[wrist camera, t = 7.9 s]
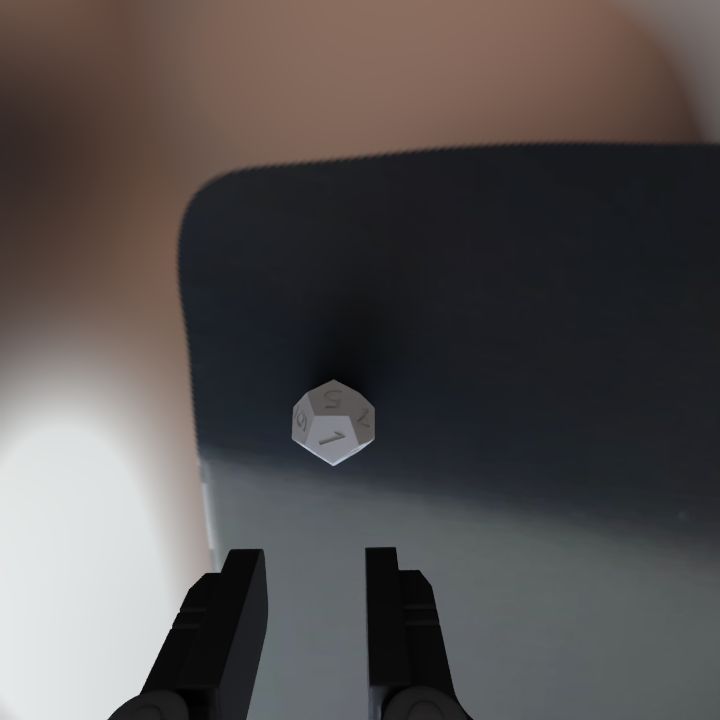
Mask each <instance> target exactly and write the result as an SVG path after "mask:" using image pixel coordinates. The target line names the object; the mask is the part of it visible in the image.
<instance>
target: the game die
mask: <svg viewBox="0 0 720 720" xmlns="http://www.w3.org/2000/svg"><path fill="white" fill-rule="evenodd" d="M292 439H293V440H295V441H296V442H297V443H299V444H300V445H302V446H303V447H304V448H306V449H307V450H309V451H310V452H312V453H313V454H315V455H317V456H318V457H320V458H321V459H323V460H325V461H326V462H328V463H329V464H331V465H333V466H334V465H336V464H338V463H340V462H341V461H343V460H345V459H347V458H348V457H350V456H352V455H353V454H355V453H357V452H359V451H360V450H361V449H362V448H364V447H365V446H366V445H368V444H369V443H370V442H371V441H373V440H374V439H375V408H374V407H373V406H372V405H371V404H370V403H369V402H368V401H367V400H366V399H365V398H364V397H363V396H362V395H361V394H360V393H359V392H357V391H355V390H353V389H351V388H349V387H347V386H345V385H343V384H342V383H340V382H338V381H336V380H332V381H330V382H327V383H325V384H323V385H321V386H319V387H317V388H315V389H313V390H311V391H309V392H307V393H306V394H305V395H304V396H303V397H302V398H301V399H300V401H299V402H298V403H297V404H296V405H295V406H294V407H293V425H292Z"/></svg>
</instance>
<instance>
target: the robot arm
mask: <svg viewBox="0 0 720 720" xmlns="http://www.w3.org/2000/svg"><path fill="white" fill-rule="evenodd" d="M365 569H366V638H367V679H368V719H369V720H473V719H472V718H471V717H470V716H469V715H468V714H467V713H466V712H465V710H464V709H463V708H462V706H461V705H460V703H459V701H458V699H457V697H456V695H455V692H454V688H453V684H452V679H451V674H450V669H449V665H448V660H447V655H446V651H445V646H444V641H443V637H442V632H441V627H440V625H439V618H438V613H437V609H436V604H435V599H434V594H433V590H432V586H431V585H430V583H429V582H428V581H427V579H426V578H425V577H424V576H423V574H422V573H421V572H420V570H399V569H398V561H397V553H396V547H374V548H365ZM267 620H268V596H267V582H266V569H265V556H264V551H263V549H231V550H230V551H229V553H228V556H227V558H226V561H225V563H224V566H223V568H222V571H221V573H205V574H204V575H203V576H202V578H200V579H199V580H198V581H197V582H196V583H195V584H194V585H193V586H192V587H191V588H190V589H189V591H188V593H187V595H186V597H185V599H184V601H183V603H182V606H181V608H180V613H178V614H177V617H176V619H175V621H174V623H173V625H172V629H170V631H169V633H168V635H167V637H166V640H165V642H164V644H163V646H162V648H161V650H160V652H159V654H158V657H157V659H156V661H155V663H154V665H153V667H152V669H151V671H150V674H149V676H148V678H147V680H146V682H145V685H144V686H143V688H142V691H141V693H140V695H138V696H136V697H134V698H132V699H130V700H129V701H127V702H126V703H124V704H123V705H122V706H121V707H119V708H118V709H117V710H116V711H115V712H114V713H113V714H112V715H111V716H110V718H109V719H108V720H246V718H247V714H248V709H249V705H250V700H251V696H252V692H253V687H254V683H255V678H256V674H257V670H258V665H259V661H260V656H261V652H262V648H263V643H264V639H265V634H266V629H267Z"/></svg>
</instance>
